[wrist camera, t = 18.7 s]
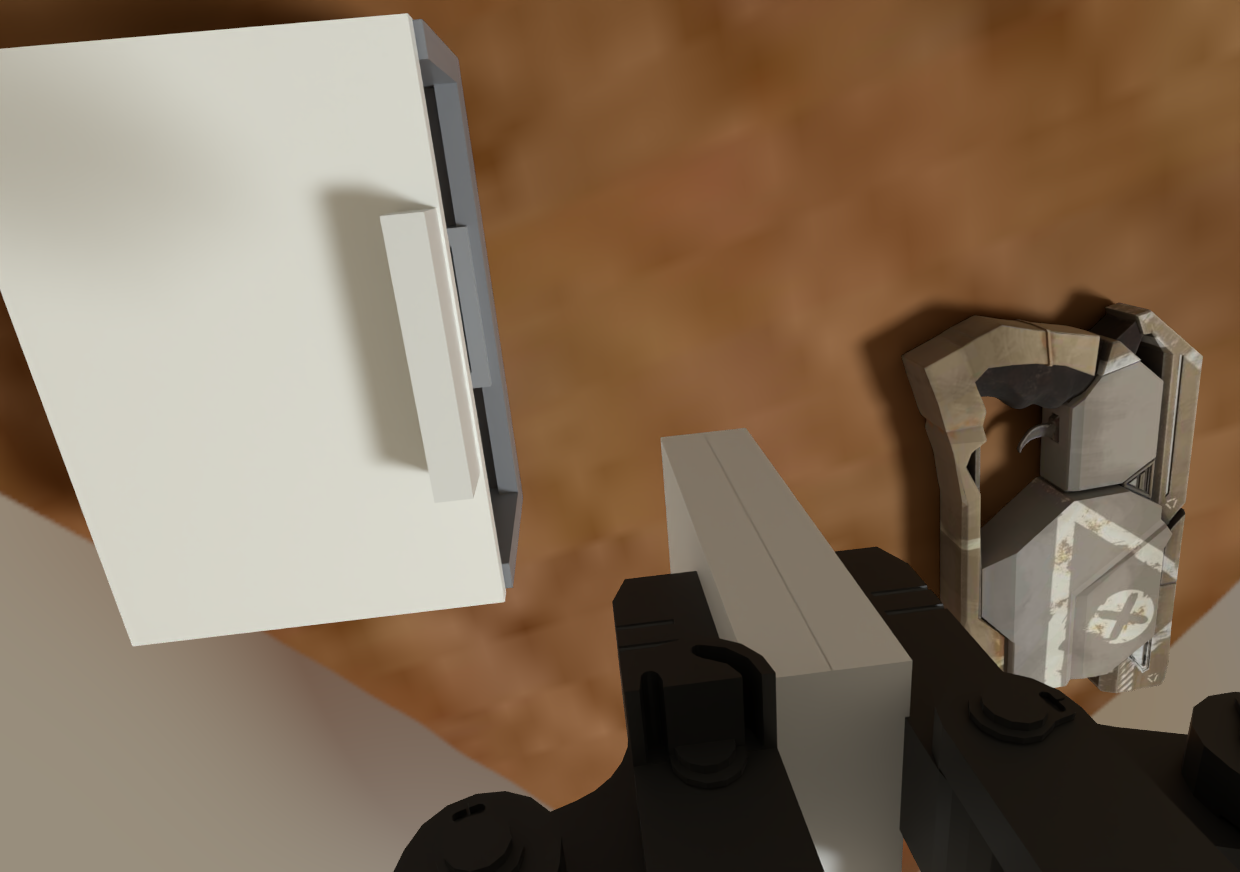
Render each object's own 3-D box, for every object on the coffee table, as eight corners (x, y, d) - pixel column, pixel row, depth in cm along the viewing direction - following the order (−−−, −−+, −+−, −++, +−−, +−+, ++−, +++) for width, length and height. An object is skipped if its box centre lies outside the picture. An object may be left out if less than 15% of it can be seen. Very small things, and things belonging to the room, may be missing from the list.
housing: (98, 90, 33) (-70, 62, 24) (458, 58, 34) (422, 18, 25) (230, 530, 41) (138, 631, 32) (523, 497, 42) (512, 587, 33)
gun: (933, 732, 45) (1174, 688, 45) (928, 340, 37) (1224, 288, 37) (905, 690, 49) (1128, 649, 49) (895, 324, 40) (1165, 278, 41)
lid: (-67, 59, 24) (-162, 43, 21) (412, 18, 25) (390, -5, 22) (142, 634, 32) (96, 687, 29) (506, 591, 32) (499, 637, 29)
